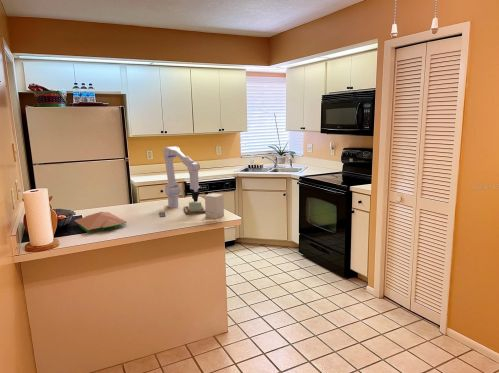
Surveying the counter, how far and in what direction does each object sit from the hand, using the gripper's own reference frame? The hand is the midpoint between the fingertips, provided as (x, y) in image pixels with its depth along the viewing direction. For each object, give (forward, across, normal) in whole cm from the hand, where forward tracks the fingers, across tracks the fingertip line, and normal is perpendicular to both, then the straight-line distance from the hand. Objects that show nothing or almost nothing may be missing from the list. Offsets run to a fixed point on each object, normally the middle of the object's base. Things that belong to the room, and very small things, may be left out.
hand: (194, 200), depth 250 cm
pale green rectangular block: (+8, 0, 0) cm, 8 cm away
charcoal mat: (+9, +3, +16) cm, 19 cm away
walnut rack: (+9, +4, 0) cm, 10 cm away
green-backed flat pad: (+10, -10, +60) cm, 61 cm away
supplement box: (+10, -13, -11) cm, 19 cm away
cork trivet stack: (+8, +8, 0) cm, 11 cm away
